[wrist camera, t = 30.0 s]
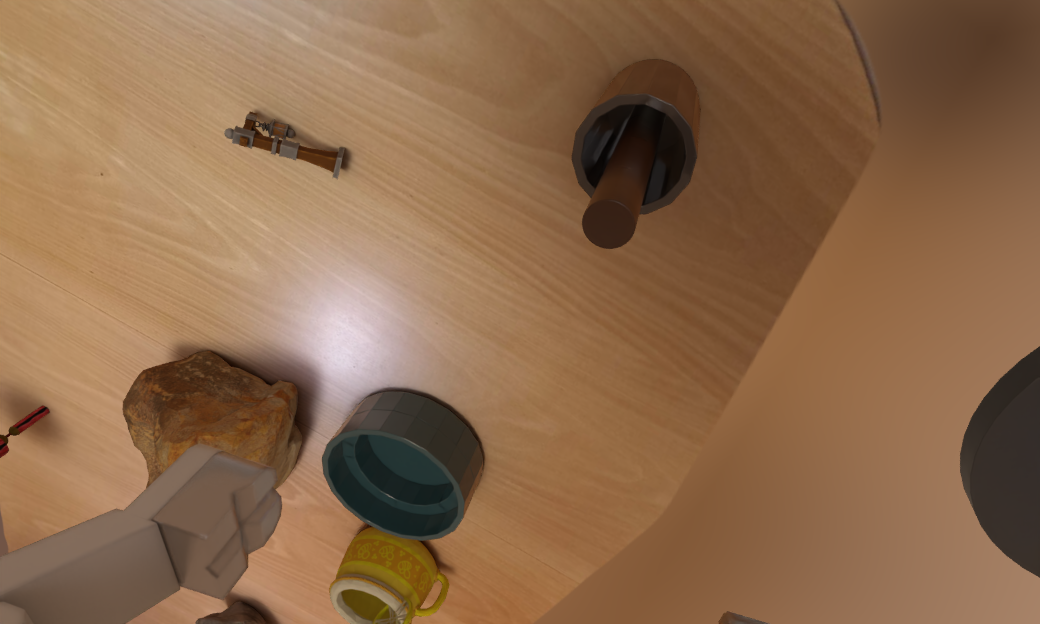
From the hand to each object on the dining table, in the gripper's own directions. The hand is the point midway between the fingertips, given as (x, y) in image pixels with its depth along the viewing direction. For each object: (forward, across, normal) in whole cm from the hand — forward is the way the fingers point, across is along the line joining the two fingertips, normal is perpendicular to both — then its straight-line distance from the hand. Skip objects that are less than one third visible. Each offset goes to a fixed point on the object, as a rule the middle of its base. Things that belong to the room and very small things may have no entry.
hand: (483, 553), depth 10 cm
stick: (+32, 0, 0) cm, 33 cm away
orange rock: (+33, +35, +37) cm, 61 cm away
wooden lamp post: (+33, +25, +7) cm, 42 cm away
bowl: (+33, +15, +36) cm, 51 cm away
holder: (+33, 0, 0) cm, 33 cm away
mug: (+33, +16, +55) cm, 66 cm away
